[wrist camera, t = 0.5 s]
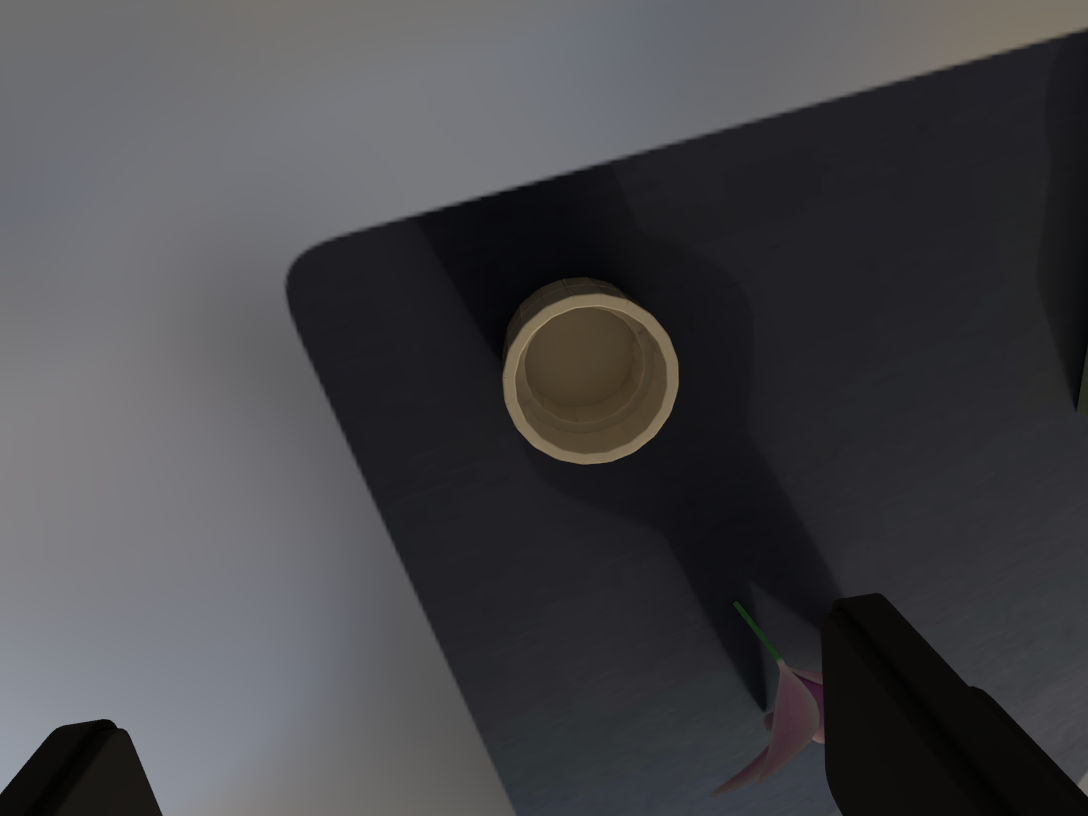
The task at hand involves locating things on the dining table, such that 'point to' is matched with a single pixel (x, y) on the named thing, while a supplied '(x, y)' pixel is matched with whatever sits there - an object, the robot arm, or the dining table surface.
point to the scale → (1084, 390)
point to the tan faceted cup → (587, 371)
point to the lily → (784, 719)
